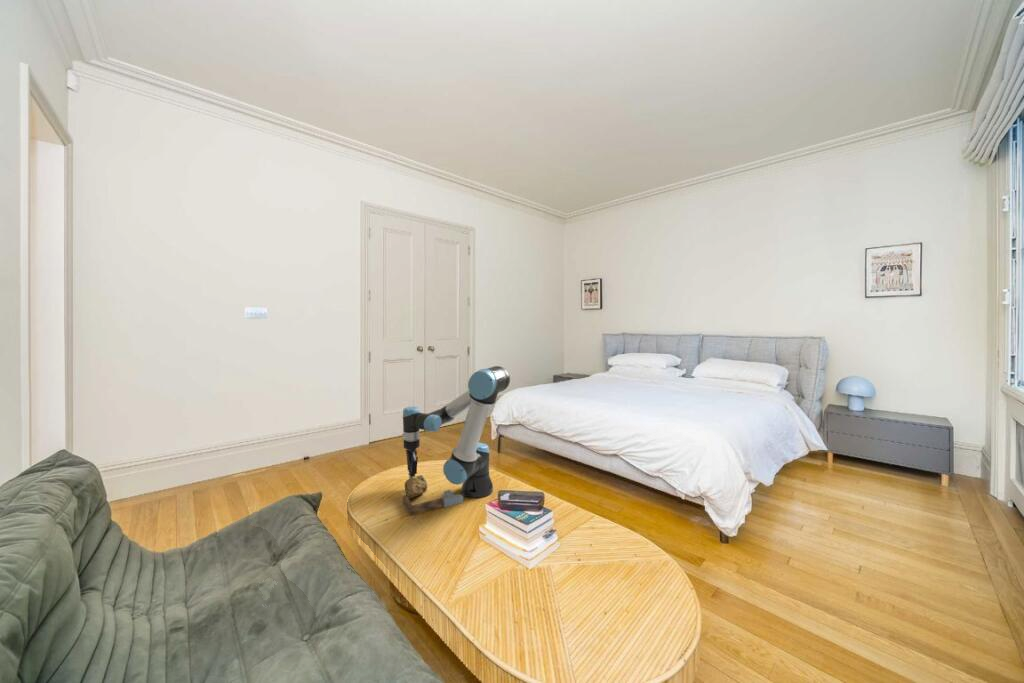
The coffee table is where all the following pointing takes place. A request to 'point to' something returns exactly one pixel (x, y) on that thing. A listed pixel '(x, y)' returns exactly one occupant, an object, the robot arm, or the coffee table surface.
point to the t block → (452, 499)
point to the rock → (415, 486)
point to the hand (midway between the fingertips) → (412, 486)
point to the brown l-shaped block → (422, 505)
